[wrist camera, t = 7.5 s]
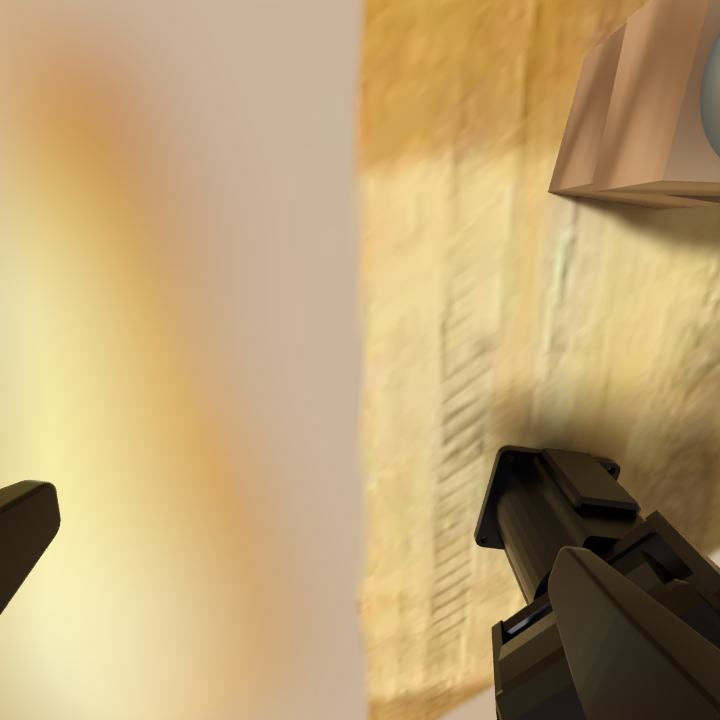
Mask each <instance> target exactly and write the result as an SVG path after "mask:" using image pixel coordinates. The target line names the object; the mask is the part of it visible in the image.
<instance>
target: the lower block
mask: <svg viewBox="0 0 720 720" xmlns="http://www.w3.org/2000/svg"><path fill="white" fill-rule="evenodd" d="M626 25H627V23H626V24H624V25H623V26H622V27H621V28H619V29H618V30H617V31H616V32H614V33H613V34H612V35H611V36H609V37H608V38H607V39H606V40H604V41H603V42H602V43H601V44H599V45H598V46H597V47H596V48H594V49H593V50H592V51H591V52H589V53H588V54H587V55H586V56H585V59H584V63H583V67H582V70H581V74H580V78H579V81H578V85H577V89H576V92H575V96H574V99H573V103H572V107H571V110H570V114H569V118H568V121H567V125H566V129H565V132H564V136H563V139H562V143H561V147H560V150H559V154H558V158H557V161H556V165H555V169H554V172H553V176H552V180H551V183H550V187H549V190H548V192H551V193H557V194H564V195H570V196H577V197H584V198H590V199H597V200H603V201H610V202H617V203H623V204H630V205H636V206H643V207H649V208H656V209H668V208H684V207H699V206H715V205H720V197H714V196H687V195H661V194H634V193H607V192H591V191H592V186H593V181H594V177H595V172H596V167H597V163H598V158H599V153H600V148H601V144H602V139H603V134H604V129H605V125H606V120H607V115H608V110H609V106H610V101H611V96H612V91H613V87H614V82H615V77H616V73H617V68H618V63H619V58H620V54H621V49H622V44H623V39H624V35H625V30H626Z"/></svg>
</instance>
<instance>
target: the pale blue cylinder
mask: <svg viewBox="0 0 720 720" xmlns="http://www.w3.org/2000/svg"><path fill="white" fill-rule="evenodd" d="M700 112H701V119H702V125H703V128H704V131H705V135H706V137H707V139H708V141H709V143H710V145H711V147H712V148H713V150H714V151H715V153H716V154H717V155H718V156H719V158H720V32H719V34H718V36H717V38H716V40H715V42H714V45H713V47H712V49H711V51H710V54H709V57H708V60H707V63H706V66H705V70H704V74H703V79H702V84H701V94H700Z"/></svg>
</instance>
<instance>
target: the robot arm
mask: <svg viewBox="0 0 720 720" xmlns="http://www.w3.org/2000/svg"><path fill="white" fill-rule="evenodd" d="M507 454H511V456H510V457H508V458H504V457H505V455H507ZM609 467H611V468H610V469H609V470H608V471H606V470H607V469H608V468H609ZM619 473H620V466H619V465H617V464H616V463H615V462H614V461H613V460H611V459H606V458H598V457H592V456H591V455H590V454H586V453H579V452H571V451H563V450H555V449H547V448H545V449H542V450H535V449H528V448H520V447H512V446H504V447H502V448H500V449H499V450H498V452H497V455H496V459H495V462H494V466H493V469H492V473H491V476H490V480H489V483H488V487H487V490H486V494H485V498H484V501H483V505H482V508H481V512H480V515H479V519H478V522H477V526H476V529H475V533H474V538H475V541H476V543H477V545H479V546H481V547H487V548H495V549H503V550H504V551H505V553H506V556H507V558H508V560H509V563H510V565H511V568H512V570H513V572H514V575H515V577H516V580H517V582H518V584H519V587H520V589H521V592H522V594H523V596H524V599H525V601H526V604H527V606H525V607H524V608H523V609H521V610H520V611H518V612H517V613H516V614H514V615H513V616H511V617H510V618H508V619H507V620H506V621H502V620H501V621H500V622H498V623H497V624H495V625H494V626H493V627H492V645H493V663H494V681H495V700H496V715H497V720H720V568H719V567H718V566H717V565H716V564H715V563H714V562H713V561H712V560H711V559H709V558H708V557H707V556H706V555H705V554H704V553H703V552H702V551H701V550H700V549H699V548H697V547H696V546H695V545H694V544H693V543H692V542H691V541H690V540H689V539H688V538H687V537H685V536H684V535H683V534H682V533H681V532H680V531H679V530H678V529H677V528H676V527H675V526H673V525H672V524H671V523H670V522H669V521H668V520H667V519H666V518H665V517H664V516H663V515H661V514H660V513H659V512H658V511H657V510H656V511H655V512H653V513H652V514H650V515H649V516H648V517H646V520H647V521H646V522H645V521H644V520H643V519H642V517H641V516H640V515H639V512H640V510H641V508H640V506H639V505H638V503H637V502H636V501H635V500H634V499H633V498H632V497H631V496H630V495H629V494H628V493H627V492H626V490H625V489H624V488H623V487H622V486H621V485H620V484H619V483H618V482H617V478H618V476H619ZM60 521H61V519H60V512H59V505H58V498H57V491H56V488H55V486H54V485H53V484H52V483H49V482H43V481H36V480H24V481H21V482H18V483H15V484H13V485H10V486H7V487H4V488H2V489H0V614H1V613H2V612H3V610H4V609H5V608H6V606H7V605H8V603H9V602H10V600H11V599H12V597H13V596H14V595H15V593H16V592H17V590H18V589H19V587H20V586H21V585H22V583H23V582H24V580H25V579H26V577H27V576H28V574H29V573H30V572H31V570H32V569H33V567H34V566H35V564H36V563H37V562H38V560H39V559H40V557H41V556H42V554H43V553H44V551H45V550H46V549H47V547H48V546H49V544H50V543H51V541H52V540H53V539H54V537H55V536H56V534H57V532H58V530H59V527H60ZM482 537H485V538H482Z"/></svg>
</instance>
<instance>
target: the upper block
mask: <svg viewBox="0 0 720 720" xmlns="http://www.w3.org/2000/svg"><path fill="white" fill-rule="evenodd" d="M719 32H720V0H650V1H648V2H647V3H646V4H645V5H644V6H642V7H641V8H640V9H639V10H637V11H636V12H635V13H634V14H632V15H631V16H630V17H629V18H628V20H627V25H626V30H625V35H624V39H623V44H622V49H621V54H620V58H619V63H618V68H617V73H616V77H615V82H614V87H613V91H612V96H611V101H610V106H609V110H608V115H607V120H606V125H605V129H604V134H603V139H602V144H601V148H600V153H599V158H598V163H597V167H596V172H595V177H594V181H593V186H592V191H591V192H607V193H634V194H661V195H687V196H714V197H720V158H719V156H718V155H717V154H716V153H715V151H714V150H713V148H712V147H711V145H710V143H709V141H708V139H707V137H706V135H705V131H704V128H703V125H702V119H701V112H700V94H701V84H702V79H703V74H704V70H705V66H706V63H707V60H708V57H709V54H710V51H711V49H712V47H713V45H714V42H715V40H716V38H717V36H718V34H719Z"/></svg>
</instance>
